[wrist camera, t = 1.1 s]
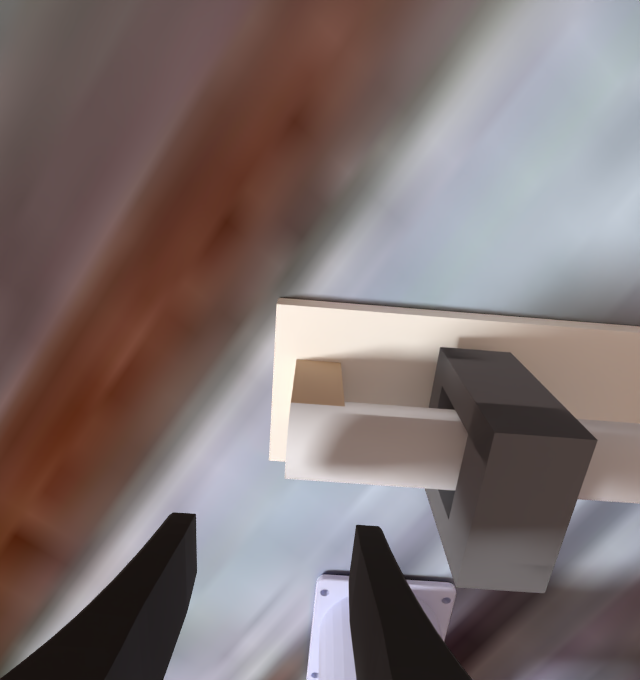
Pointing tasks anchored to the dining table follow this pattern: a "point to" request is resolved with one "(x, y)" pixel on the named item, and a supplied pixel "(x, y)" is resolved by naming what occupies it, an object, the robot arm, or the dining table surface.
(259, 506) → the dining table surface
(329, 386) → the pipe stand
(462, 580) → the collar
